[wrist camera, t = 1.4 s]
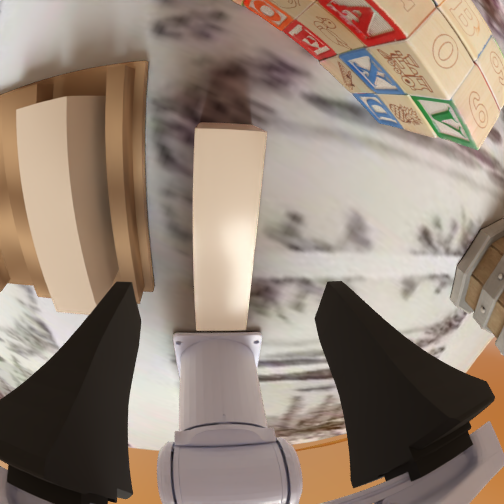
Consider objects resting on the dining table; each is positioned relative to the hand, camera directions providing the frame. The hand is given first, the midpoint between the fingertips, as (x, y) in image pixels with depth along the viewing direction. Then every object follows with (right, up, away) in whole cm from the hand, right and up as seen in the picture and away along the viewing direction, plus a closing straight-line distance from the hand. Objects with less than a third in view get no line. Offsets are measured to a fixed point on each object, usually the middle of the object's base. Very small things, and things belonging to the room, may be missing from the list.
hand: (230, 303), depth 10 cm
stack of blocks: (+3, +18, +1) cm, 19 cm away
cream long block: (-10, +6, +5) cm, 13 cm away
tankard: (+34, -1, +17) cm, 38 cm away
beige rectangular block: (-1, +5, +9) cm, 10 cm away
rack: (-14, +6, +5) cm, 16 cm away
